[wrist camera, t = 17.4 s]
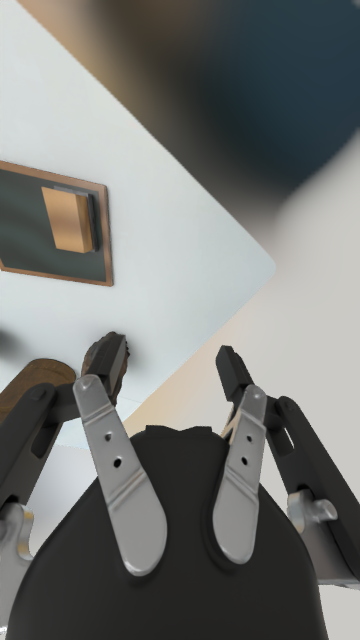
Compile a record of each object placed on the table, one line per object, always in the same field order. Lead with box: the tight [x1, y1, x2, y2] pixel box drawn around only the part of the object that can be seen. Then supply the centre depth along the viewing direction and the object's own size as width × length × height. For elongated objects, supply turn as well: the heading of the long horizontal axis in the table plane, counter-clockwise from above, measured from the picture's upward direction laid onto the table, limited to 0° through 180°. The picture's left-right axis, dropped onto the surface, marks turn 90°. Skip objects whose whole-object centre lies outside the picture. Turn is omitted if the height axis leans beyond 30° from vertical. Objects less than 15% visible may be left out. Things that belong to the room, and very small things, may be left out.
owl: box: [81, 332, 130, 407], centre depth 40 cm, size 13×13×20 cm
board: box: [0, 161, 113, 287], centre depth 29 cm, size 18×22×2 cm
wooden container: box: [0, 359, 76, 425], centre depth 44 cm, size 15×15×22 cm
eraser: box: [41, 186, 98, 253], centre depth 26 cm, size 9×5×5 cm, turn 170°
